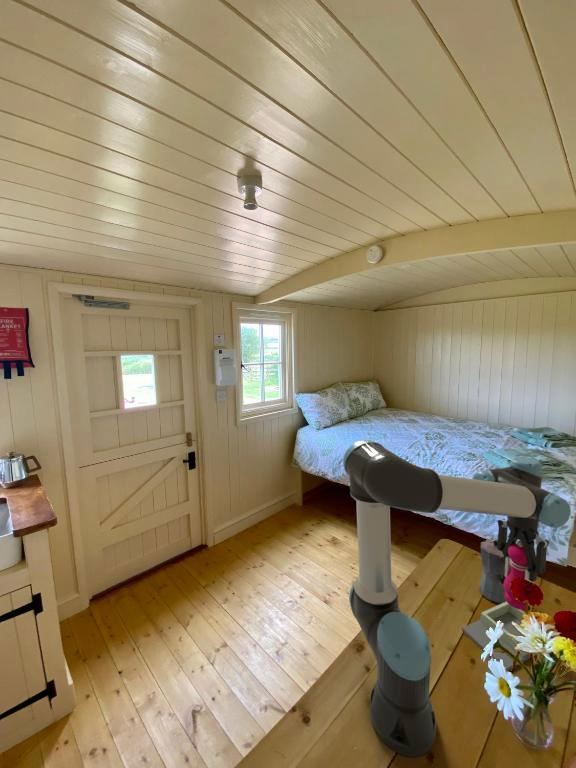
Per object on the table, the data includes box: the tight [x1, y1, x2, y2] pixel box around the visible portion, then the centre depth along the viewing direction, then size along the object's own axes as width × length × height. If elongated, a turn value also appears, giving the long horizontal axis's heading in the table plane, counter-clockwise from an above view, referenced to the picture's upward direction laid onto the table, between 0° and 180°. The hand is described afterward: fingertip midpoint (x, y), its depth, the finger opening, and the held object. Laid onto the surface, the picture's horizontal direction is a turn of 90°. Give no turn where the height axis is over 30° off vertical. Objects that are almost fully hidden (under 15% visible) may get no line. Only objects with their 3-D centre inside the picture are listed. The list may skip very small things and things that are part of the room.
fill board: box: [461, 602, 530, 671], centre depth 99 cm, size 20×14×4 cm
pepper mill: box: [504, 540, 528, 611], centre depth 98 cm, size 7×7×20 cm
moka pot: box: [478, 539, 506, 604], centre depth 115 cm, size 10×15×20 cm, turn 174°
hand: (518, 582), depth 99 cm, fingers closed on pepper mill, 5 cm apart
